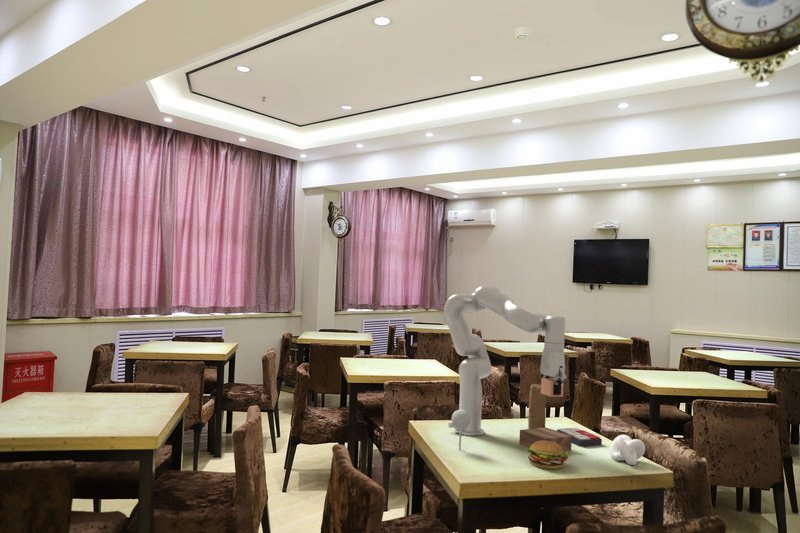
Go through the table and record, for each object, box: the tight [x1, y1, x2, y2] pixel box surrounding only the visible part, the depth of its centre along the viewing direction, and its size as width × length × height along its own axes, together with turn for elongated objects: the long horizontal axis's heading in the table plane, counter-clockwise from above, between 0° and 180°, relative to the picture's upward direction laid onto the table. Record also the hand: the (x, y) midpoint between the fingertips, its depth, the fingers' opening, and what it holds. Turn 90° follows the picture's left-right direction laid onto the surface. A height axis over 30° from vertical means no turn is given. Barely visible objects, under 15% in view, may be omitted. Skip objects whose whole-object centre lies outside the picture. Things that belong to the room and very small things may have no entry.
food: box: [527, 440, 570, 470], centre depth 183 cm, size 14×14×8 cm
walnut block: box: [519, 426, 572, 452], centre depth 205 cm, size 14×14×6 cm
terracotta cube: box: [540, 377, 564, 398], centre depth 203 cm, size 6×6×6 cm
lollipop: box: [451, 409, 470, 451], centre depth 196 cm, size 7×7×15 cm
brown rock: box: [527, 383, 547, 429], centre depth 234 cm, size 11×8×20 cm
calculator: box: [556, 427, 603, 448], centre depth 217 cm, size 11×4×15 cm
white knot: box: [609, 434, 646, 466], centre depth 192 cm, size 11×12×9 cm
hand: (551, 392), depth 203 cm, fingers closed on terracotta cube, 6 cm apart
